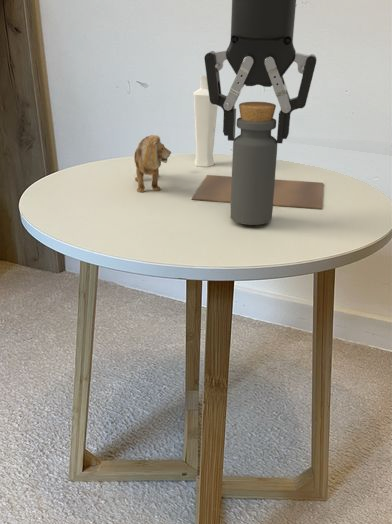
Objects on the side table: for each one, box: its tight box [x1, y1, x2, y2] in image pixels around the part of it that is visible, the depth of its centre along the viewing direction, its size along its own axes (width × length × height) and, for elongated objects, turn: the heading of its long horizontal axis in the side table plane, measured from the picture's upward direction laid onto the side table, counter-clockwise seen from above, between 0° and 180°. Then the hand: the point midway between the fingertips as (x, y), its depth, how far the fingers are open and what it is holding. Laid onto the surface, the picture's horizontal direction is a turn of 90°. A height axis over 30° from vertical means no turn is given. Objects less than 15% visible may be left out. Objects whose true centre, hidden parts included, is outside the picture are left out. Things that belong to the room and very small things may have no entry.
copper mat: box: [191, 174, 324, 210], centre depth 97 cm, size 20×14×1 cm
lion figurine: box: [133, 134, 172, 193], centre depth 97 cm, size 15×5×9 cm, turn 13°
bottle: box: [230, 101, 278, 226], centre depth 80 cm, size 6×6×15 cm
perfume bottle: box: [192, 75, 219, 168], centre depth 108 cm, size 5×4×15 cm
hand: (255, 140), depth 79 cm, fingers closed on bottle, 5 cm apart
